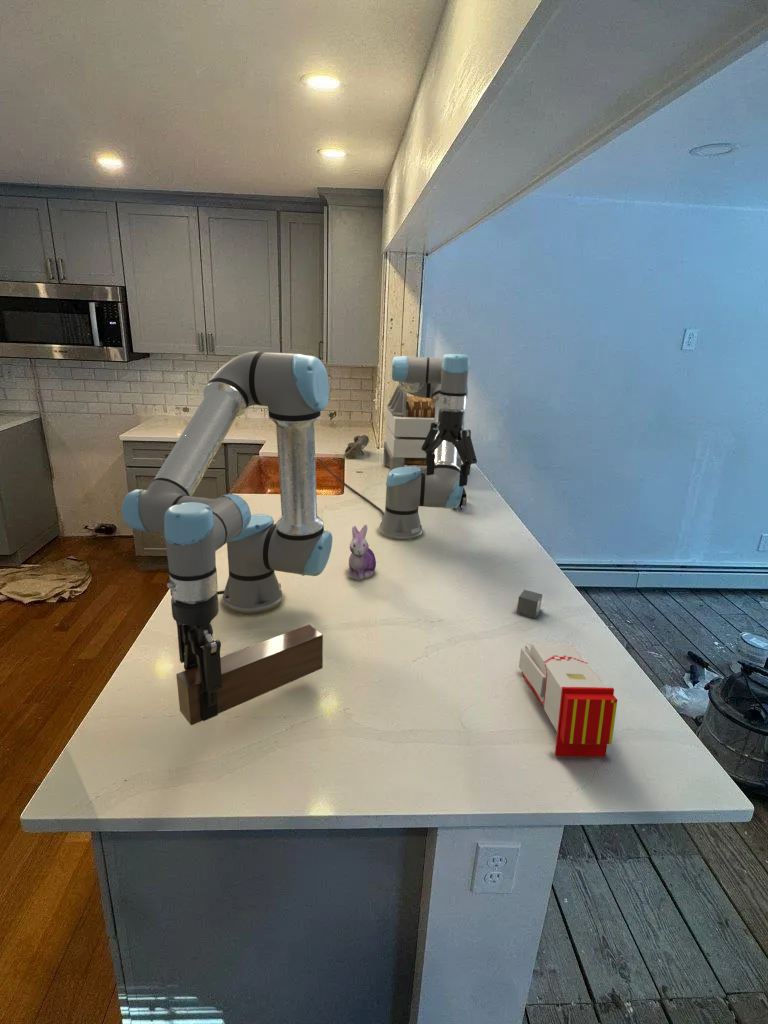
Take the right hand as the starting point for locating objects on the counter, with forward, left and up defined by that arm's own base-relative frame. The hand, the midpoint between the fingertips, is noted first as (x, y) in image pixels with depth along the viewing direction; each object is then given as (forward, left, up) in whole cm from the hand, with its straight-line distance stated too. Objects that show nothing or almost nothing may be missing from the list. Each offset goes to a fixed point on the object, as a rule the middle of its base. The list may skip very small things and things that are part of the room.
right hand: (446, 480), depth 171 cm
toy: (+64, -32, -27) cm, 76 cm away
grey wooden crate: (-77, +66, -27) cm, 104 cm away
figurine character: (-33, +44, -27) cm, 61 cm away
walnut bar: (+27, -79, -22) cm, 87 cm away
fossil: (-122, +62, -27) cm, 139 cm away
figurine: (-7, -26, -27) cm, 38 cm away
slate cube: (+37, -4, -27) cm, 46 cm away
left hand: (+27, -90, -22) cm, 97 cm away
